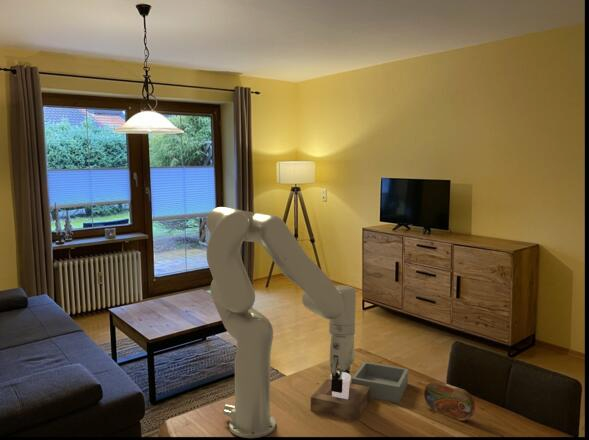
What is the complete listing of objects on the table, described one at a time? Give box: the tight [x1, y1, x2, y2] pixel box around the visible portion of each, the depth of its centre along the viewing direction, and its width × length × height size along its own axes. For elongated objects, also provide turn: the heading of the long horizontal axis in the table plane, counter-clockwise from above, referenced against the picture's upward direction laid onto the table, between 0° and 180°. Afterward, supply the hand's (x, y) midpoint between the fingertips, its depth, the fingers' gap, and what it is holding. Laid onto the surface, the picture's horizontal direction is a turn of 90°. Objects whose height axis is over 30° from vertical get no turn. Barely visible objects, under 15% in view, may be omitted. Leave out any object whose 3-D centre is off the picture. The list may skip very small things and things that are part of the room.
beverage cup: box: [330, 371, 352, 399], centre depth 141 cm, size 6×6×14 cm
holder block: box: [310, 378, 371, 421], centre depth 142 cm, size 14×14×4 cm
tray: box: [350, 361, 409, 404], centre depth 153 cm, size 15×15×5 cm
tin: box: [423, 381, 476, 422], centre depth 137 cm, size 15×3×8 cm, turn 42°
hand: (340, 386), depth 141 cm, fingers closed on beverage cup, 6 cm apart
